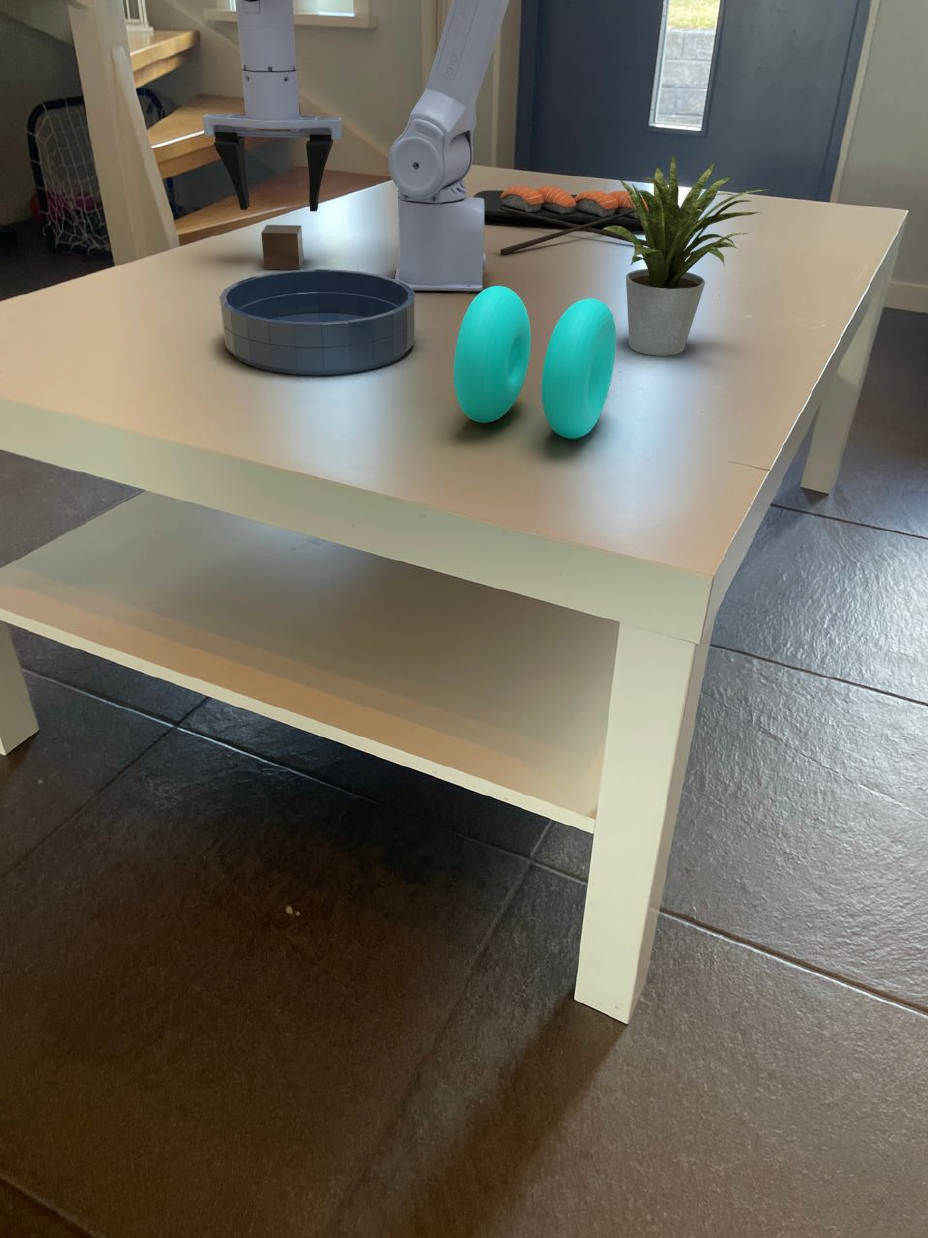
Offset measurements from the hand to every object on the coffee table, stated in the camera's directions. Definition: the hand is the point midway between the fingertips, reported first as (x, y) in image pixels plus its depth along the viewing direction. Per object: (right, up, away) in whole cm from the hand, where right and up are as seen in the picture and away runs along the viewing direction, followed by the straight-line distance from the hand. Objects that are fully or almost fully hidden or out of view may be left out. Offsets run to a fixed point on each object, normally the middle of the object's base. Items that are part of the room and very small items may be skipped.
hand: (279, 208), depth 109 cm
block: (0, -5, +3) cm, 6 cm away
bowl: (+7, -20, -19) cm, 29 cm away
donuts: (+26, -31, -34) cm, 53 cm away
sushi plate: (+34, +6, +21) cm, 41 cm away
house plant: (+38, -21, -19) cm, 48 cm away
